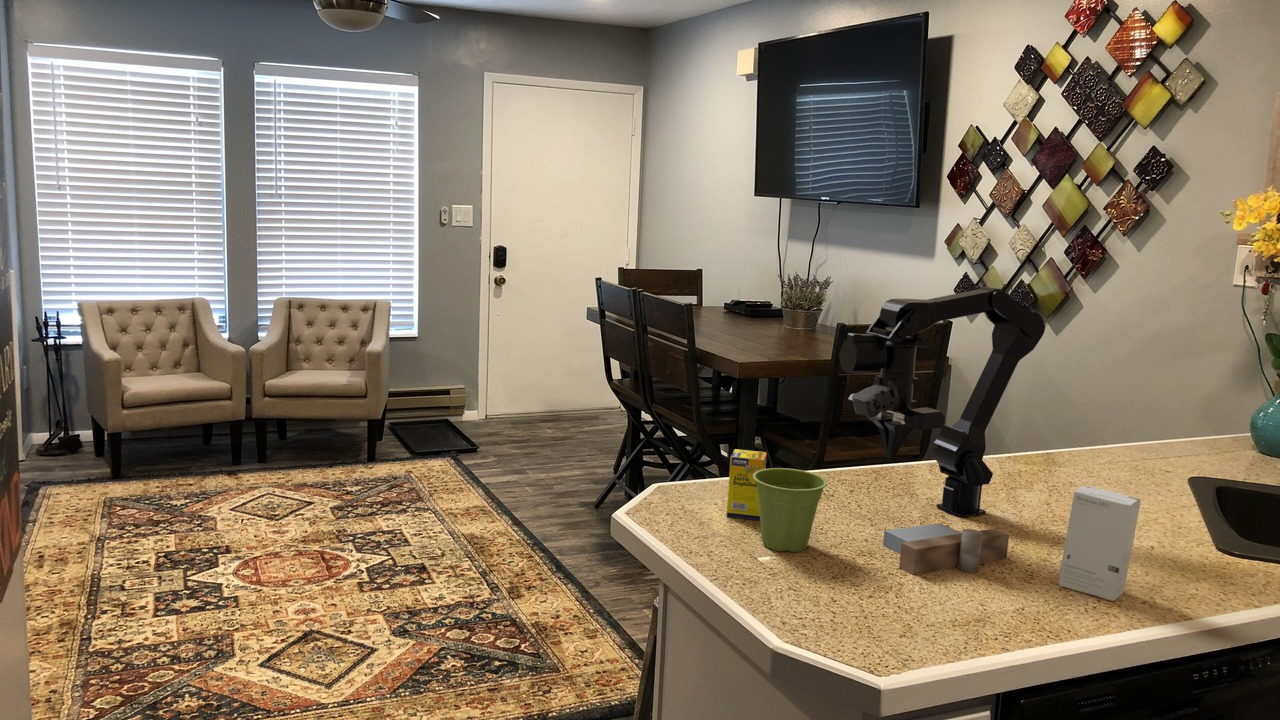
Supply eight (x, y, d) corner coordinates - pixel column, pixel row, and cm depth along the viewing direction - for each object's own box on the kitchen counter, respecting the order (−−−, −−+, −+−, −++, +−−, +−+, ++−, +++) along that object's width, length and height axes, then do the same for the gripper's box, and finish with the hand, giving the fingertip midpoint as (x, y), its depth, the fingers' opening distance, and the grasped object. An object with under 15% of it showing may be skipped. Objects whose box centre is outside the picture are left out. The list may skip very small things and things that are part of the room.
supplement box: (760, 521, 172) (764, 459, 170) (725, 517, 173) (729, 456, 171) (763, 511, 177) (767, 451, 176) (729, 507, 179) (733, 448, 177)
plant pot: (739, 550, 156) (744, 481, 155) (758, 528, 167) (763, 464, 166) (813, 563, 152) (819, 493, 150) (828, 540, 163) (834, 474, 161)
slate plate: (938, 540, 168) (940, 523, 167) (973, 556, 161) (975, 538, 160) (882, 548, 162) (884, 530, 162) (916, 565, 155) (918, 546, 155)
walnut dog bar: (992, 551, 162) (996, 516, 161) (1021, 564, 157) (1025, 528, 156) (899, 567, 152) (902, 530, 151) (927, 581, 147) (931, 542, 146)
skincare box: (1057, 586, 148) (1069, 490, 146) (1070, 576, 152) (1081, 483, 150) (1117, 603, 143) (1130, 503, 140) (1128, 592, 147) (1141, 495, 145)
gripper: (827, 365, 178) (821, 449, 181) (902, 383, 162) (895, 476, 165) (873, 361, 184) (867, 443, 186) (950, 379, 168) (942, 468, 170)
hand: (890, 457), depth 177 cm, fingers closed
